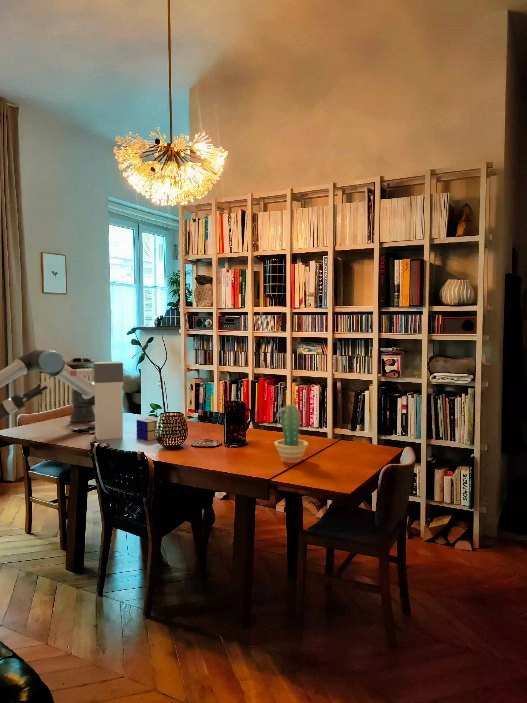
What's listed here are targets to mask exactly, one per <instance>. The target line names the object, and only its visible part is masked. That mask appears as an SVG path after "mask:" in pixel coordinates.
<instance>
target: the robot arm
mask: <svg viewBox="0 0 527 703" xmlns="http://www.w3.org/2000/svg"><path fill="white" fill-rule="evenodd" d="M70 370H74V369H73V368H71V367H70V366H69V365H67V364H66V361H65V360H64V357H63V356H62V354H61V353H60V352H58V351H55V350H44V349H41V350H40V349H34V350H31V351H28V352H26V353H24V354H23V355H21V356H19V357H17V358H15V359H14V360H13V363H11V364H10V365H7V366H6V367H5V368H3V369H1V370H0V389H1V388H2V387H4V386H6V385H7V384H8V383H10V382H12V381H14V380H15V379H17V378H18V377H20V376H22V375H23V376H25V375H26V374H29V373H30V372H31V373H32V372H43V373H45V375H47V376H49V377H51V378H49V379H48V380H46V381H44V382H42V383H41V384H40V383H38V384H37V386H35V387H34V388H32V389H30V390H28V391H27V392H24V393H23V395H22V396H21V395H20V393H19V394H18V393H16V394H15V395H13V396H11V398H10V397H9V398H7V399H5V400H3V401H2V402H1V403H0V422H1V421H3V420H4V419H6V418H7V417H9V416H11V415H15V413H16V412H18V410H21V409H23V408H25V407H26V403H27V402H29V401H30V400H31V399H33V398H35V397H37V396H40V395H43V394H44V392H46V391H48V390H49V389H51V388H53V387H55V384H54V383H55V381H54V378H57V379H59V380H60V381H61V382H63V383H65V384H66V385H68V386H69V387H71V388H72V410H71V415H70V417H69V419H70V420H69V421H70V422H71V423H79V422H80V423H89V422H88V421H91V422H94V421H93V420H95V409H94V406H95V384H94V383H93V381H90V380H88V379H87V378H86V377H85V376H70Z"/></svg>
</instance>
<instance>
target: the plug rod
mask: <svg viewBox="0 0 527 703" xmlns="http://www.w3.org/2000/svg"><path fill="white" fill-rule="evenodd" d="M94 375H95V369H93V368H90V369H89V368H86V369H73V370H70V376H83V377H85V376H89V377H90V376H94Z"/></svg>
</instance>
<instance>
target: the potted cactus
mask: <svg viewBox="0 0 527 703" xmlns="http://www.w3.org/2000/svg"><path fill="white" fill-rule="evenodd" d="M276 419H277V421H278V422H279V419H280V426H281V428H282V433H283V439H282V438H281V439H279V440H275V441H274V446H275V448H276V450H277V452H278V455H279V456H280V457H281V458H280V460H281V462H284V463H289V464H291V463H293V464H294V463H300V462H301V461H302V459H301V458H302V456H304V454H305V451H306V448H308V447H309V442H308V441H306V440H303V439H299V429H300V425H301V412H300V410H299V409H298V407H297V406H296V405H294V404H291V405H289V404H287V405H285V406H283V407H280V408H279V409H278V411H277V413H276Z"/></svg>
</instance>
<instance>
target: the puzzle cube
mask: <svg viewBox="0 0 527 703" xmlns="http://www.w3.org/2000/svg"><path fill="white" fill-rule="evenodd" d="M158 419H159V418H156V417H146V418H139V419H136V439H137V440H138V439H139V440H142V441H145V442H146V441H147V442H150V441H154V440H156V439H155V428H156V424H157V421H158Z"/></svg>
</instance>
